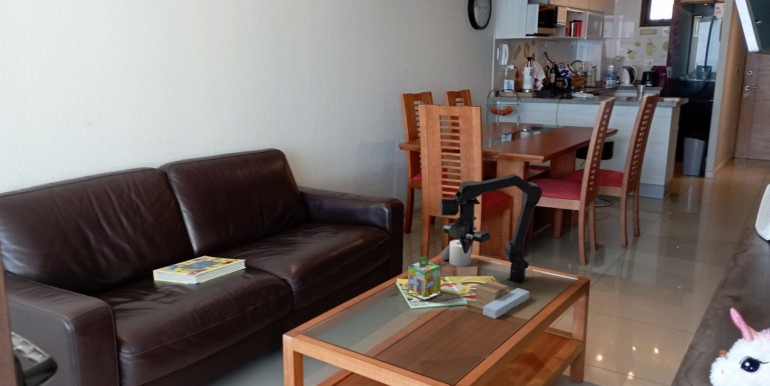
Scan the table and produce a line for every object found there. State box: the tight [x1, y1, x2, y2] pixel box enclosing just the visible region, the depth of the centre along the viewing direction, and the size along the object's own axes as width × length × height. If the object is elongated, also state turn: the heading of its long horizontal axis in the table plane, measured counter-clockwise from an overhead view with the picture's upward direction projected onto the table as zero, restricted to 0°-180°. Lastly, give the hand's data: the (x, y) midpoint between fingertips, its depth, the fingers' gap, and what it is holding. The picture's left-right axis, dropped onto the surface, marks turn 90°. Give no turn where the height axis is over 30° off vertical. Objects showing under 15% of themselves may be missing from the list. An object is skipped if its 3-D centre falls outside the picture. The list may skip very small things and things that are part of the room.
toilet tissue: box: [440, 239, 472, 267], centre depth 268 cm, size 9×13×9 cm
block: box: [475, 280, 508, 306], centre depth 230 cm, size 8×8×6 cm
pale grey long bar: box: [482, 287, 530, 319], centre depth 226 cm, size 22×5×3 cm, turn 136°
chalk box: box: [407, 255, 442, 297], centre depth 235 cm, size 9×9×15 cm
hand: (465, 253), depth 246 cm, fingers closed
